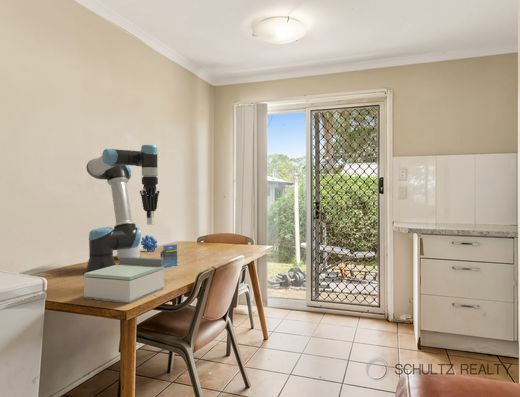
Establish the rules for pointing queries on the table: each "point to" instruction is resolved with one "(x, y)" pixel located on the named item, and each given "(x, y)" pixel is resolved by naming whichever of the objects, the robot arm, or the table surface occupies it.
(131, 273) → the lid
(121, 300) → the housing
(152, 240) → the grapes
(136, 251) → the utensil holder
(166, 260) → the label tape cartridge
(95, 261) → the robot arm
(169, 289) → the table surface
